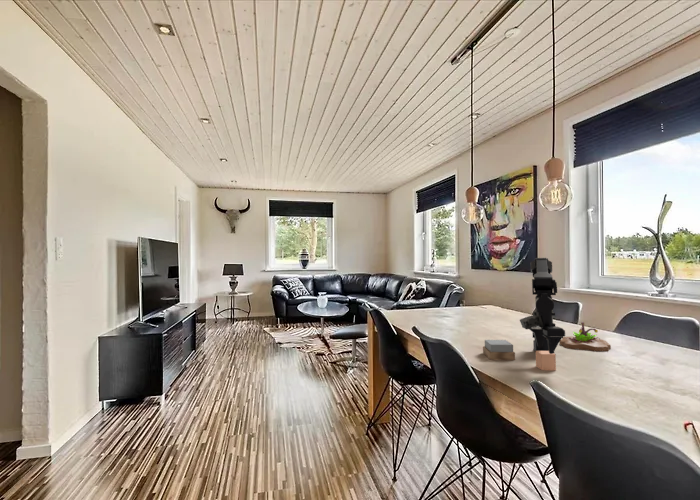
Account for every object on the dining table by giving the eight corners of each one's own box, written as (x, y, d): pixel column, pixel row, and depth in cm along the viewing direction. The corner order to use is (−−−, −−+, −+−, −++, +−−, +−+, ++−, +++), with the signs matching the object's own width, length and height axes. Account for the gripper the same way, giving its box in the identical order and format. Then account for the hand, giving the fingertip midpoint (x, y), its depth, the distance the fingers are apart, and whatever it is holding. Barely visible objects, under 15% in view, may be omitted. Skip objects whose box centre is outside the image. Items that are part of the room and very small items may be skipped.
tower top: (505, 346, 155) (505, 339, 155) (513, 352, 146) (513, 344, 146) (484, 346, 156) (484, 339, 156) (490, 351, 147) (490, 344, 147)
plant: (608, 344, 170) (607, 321, 171) (612, 353, 154) (611, 327, 154) (560, 339, 181) (559, 317, 181) (559, 348, 165) (558, 323, 165)
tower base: (506, 354, 156) (506, 346, 156) (515, 361, 146) (514, 352, 146) (483, 354, 157) (482, 346, 157) (490, 360, 147) (489, 352, 147)
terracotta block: (549, 366, 137) (549, 350, 137) (555, 370, 132) (555, 354, 132) (536, 366, 137) (535, 350, 137) (542, 370, 132) (541, 354, 132)
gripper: (512, 306, 145) (513, 344, 144) (532, 313, 126) (534, 357, 126) (541, 305, 144) (542, 344, 144) (565, 312, 125) (566, 357, 125)
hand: (545, 350), depth 135 cm, fingers open, 9 cm apart
